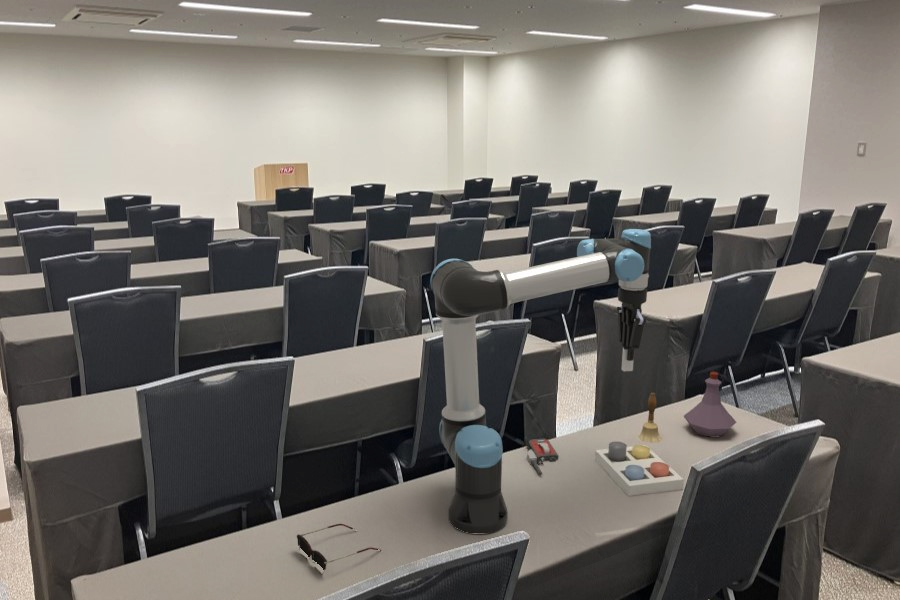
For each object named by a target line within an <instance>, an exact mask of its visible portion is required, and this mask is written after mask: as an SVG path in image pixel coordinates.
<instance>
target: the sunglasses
mask: <svg viewBox="0 0 900 600" xmlns="http://www.w3.org/2000/svg"><path fill="white" fill-rule="evenodd" d="M338 526H341V527H342V526H343V527H345V528H348V529H350V530H352V529H353V527H351V526H350V525H348V524H344V523H337V524H336V523H335V524H333V525H329V526H326V527H322V528H319V529H316V530H312V531H309V532H304V533H301V534H296V539H297V546H299V549H300V548H301V549H302V550H303V551H304V552H305V553H306V554H307V555H308V557H310V556H311V557H310V558H311V561H312V560H314V561H315V562H317V564H319V565H320V566H321V567H322V568H323V570H324V571H325V570H326V569H327V565H328V564H329V563H331V562H332V563H333V562H335V561H337V560H341V559H344V558H348V557H350V556H354V555H356V554H359V553H363V552H366V551H369V550H375V551H377V550H378V549H379V548H376V547H370V546H369V547H366V548H363V549H361V550H358V551H356V552H352V553H349V554H346V555H342V556H340V557H336V558H332V559H330V560H327V559H326V557H325V556H324V554H323V553H321V552H320V551H318V550H316V549H314V550H313V549H312V547H311V545H310V543H309V542H308V540H307V539H306V538H305V537H304V536H306V535H308V534H313V533H316V532H319V531H324V530H326V529H330V528H334V527H338Z"/></svg>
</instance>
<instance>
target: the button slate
mask: <svg viewBox="0 0 900 600" xmlns="http://www.w3.org/2000/svg"><path fill="white" fill-rule="evenodd" d="M625 477H626V478H627V479H628V480H629V481H634V480H642V479H644V468H643V467H641V466H638V465H628V466H626V471H625Z"/></svg>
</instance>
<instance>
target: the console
mask: <svg viewBox="0 0 900 600" xmlns="http://www.w3.org/2000/svg"><path fill="white" fill-rule="evenodd" d="M642 445H643V446H646V447H648V446H647V445H646V444H642ZM633 446H634V445H632V446H627V449H626V460H625V461H623V462H615V461H611V460H610V459H609V458H608V452H609V448H603V449H596V450H595V452H594V454H595V455H594V456H595V457H594V460H595V461H596V463H597V464H598V465H599V466H600V467H601V468H602V469H603V470H604V471H605V473H607V474H608V475H609V477H610V478H611V479H612V480H613V481H614V482H615V483H616V484H617V485H618V486H619V488H621V489H622V490H623V492H624V493H625V494H626V495H627V496H628V497H631V496H632V497H633V496H641V495H649V494H657V493H666V492H672V491H680V490H683V487H684V478H683V477H682V476H680V475H679V473H677V472H676V471H675V470H674V469H673V468H672V467H671V466H669V475H668V476H667V477H658V478H654V477H653V476H652V475H651V474H650V465H651V463H653V462H662V463H665V464H667V463H666V462H665V461H664V460H663V459H662V458H661V457H659V456H658V455H657V453H656V452H654V451H653V450H652V449H650V457H649V459H640V460H636V459H635V458H634V457H632V447H633ZM628 465H638V466H641V467H643V468H644V479H642V480H634V481H629V480H628V479H627V478H626V477H625V471H626V466H628Z"/></svg>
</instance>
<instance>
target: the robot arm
mask: <svg viewBox="0 0 900 600" xmlns="http://www.w3.org/2000/svg"><path fill="white" fill-rule="evenodd" d="M651 237H652V235H651V233H650V232H649V231H648V230H645V229H642V228H641V229H639V228H628V229H624V230H623V231H622V232H621V236H620V237H618V238H617V237H616V238H590V239H583V240H581V241H580V242H579V243H578V245H577V248H576V257H571V258H565V259H562V260H561V259H560V260H557V261H552V262H547V263H543V264H539V265H533V266H530V267H524V268H519V269H515V270H510V271H506V272H503V271H502V270H500V269H495V270H490V271H489V270H488V271H481V270H477V269H475V268H474V267H473V266H472V264H470V263H469V262H468V261H465V260H463V259H460V258H449V259H445V260H443V261H441V262H440V263H438V265H437V266H435V267H434V269H433V271H432V272H431V275H430V281H429V282H430V288H431V291H432V293H433V295H434V305H435V316H436V317H437V318H439V319H440V320H441V321H442V322H441V324H442V325H441V326H442V341H443V358H444V359H443V360H444V374H445V375H444V376H445V378H444V379H445V392H446V405H445V407H443V409H442V410H441V420H440V422H439V431H438V432H439V437H440V441H441V443H442V445H443V447H444V448H445V450H446V451H447V453H448V456H449V457H450V459H451V460H452V462H453V464H454V470H455V472H454V473H455V477H454V478H455V481H454V483H455V490H454V494H453V496H452V499H451V502H450V504H449V507H448V522H449V521H450V522H449V523H451V524H452V525H453V526H454V527H456V528H458V529H460V530H462V531H464V532H463V533H465V532H468V533H467V534H470V533H488V534H492V533H495V532H497V531H500V530H501V529H503V528H505V526H506V525H507V523H508V519H509V518H508V514H509V513H508V507H507V504H506V502H505V499H504V495H503V492H502V475H503V474H502V473H503V472H502V470H503V467H502V466H503V465H502V463H503V453H504V452H503V449H504V448H503V440H502V438H501V436H500V434H499V433H498V432H497V430H495V429H494V428H492V427H491V428H490V427H488V426H487V421H486V420H487V419H486V409H485V406H483V405H481V403H480V394H479V372H478V370H479V369H478V368H479V367H478V346H477V345H478V344H477V327H476V326H477V325H476V323H477V322H476V319H477V318H478V317H479V316H480V315H485V314H489V313H494V312H498V311H502V310H503V311H504V310H506V309H508V308H509V306H510V305H511V304H514V303H519V302H523V301H528V300H531V299H532V300H533V299H537V298H540V297H541V298H542V297H546V296H550V295H554V294H559V293H562V292H567V291H572V290H577V289H581V288H585V287H590V286H594V285H598V284H602V283H607V282H611V281H612V282H613V281H616V280H618V286H619V287H618V289H617V290H618V291H617V292H618V293H617V299H618V301H619V302H620V303H621V306H617V307H616V313H617V321H618V342H619V343H621V346H622V356H621V371H622V372H633V371H634V361H635V360H634V359H635V350H639V349H640V346H641V345H640V344H641V341H642V336H643V331H644V326H645V324H646V323H647V318H646V317H643V316H642V311H643V310H642V305H643V304H645V303H646V302H647V300H648V299H647V298H648V296H647V295H648V289H647V287H648V282H649V277H650V274H649V270H650V269H649V268H650V257H651V256H650V255H651V249H652V245H651V244H652V239H651ZM451 524H450V525H451ZM452 525H451V526H452ZM453 526H452V527H453ZM454 527H453V528H454ZM456 528H455V529H456ZM458 529H457V530H458ZM460 530H459V531H460ZM462 531H461V532H462Z"/></svg>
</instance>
